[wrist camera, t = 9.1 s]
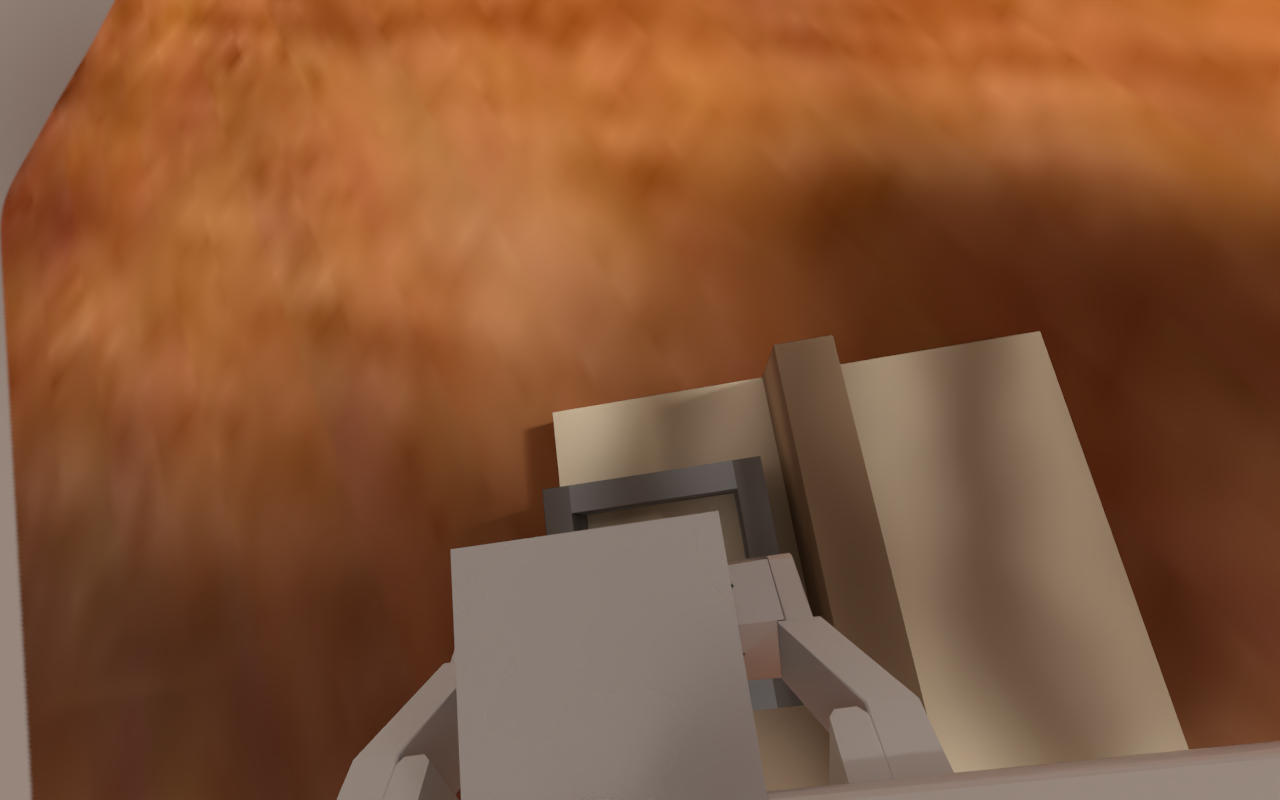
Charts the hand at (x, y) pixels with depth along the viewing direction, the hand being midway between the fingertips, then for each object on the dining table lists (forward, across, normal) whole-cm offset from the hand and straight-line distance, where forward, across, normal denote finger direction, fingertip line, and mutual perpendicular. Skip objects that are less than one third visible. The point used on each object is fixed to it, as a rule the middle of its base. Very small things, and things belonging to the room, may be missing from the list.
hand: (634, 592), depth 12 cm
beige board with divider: (+7, -6, +8) cm, 12 cm away
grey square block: (+3, 0, +4) cm, 5 cm away
